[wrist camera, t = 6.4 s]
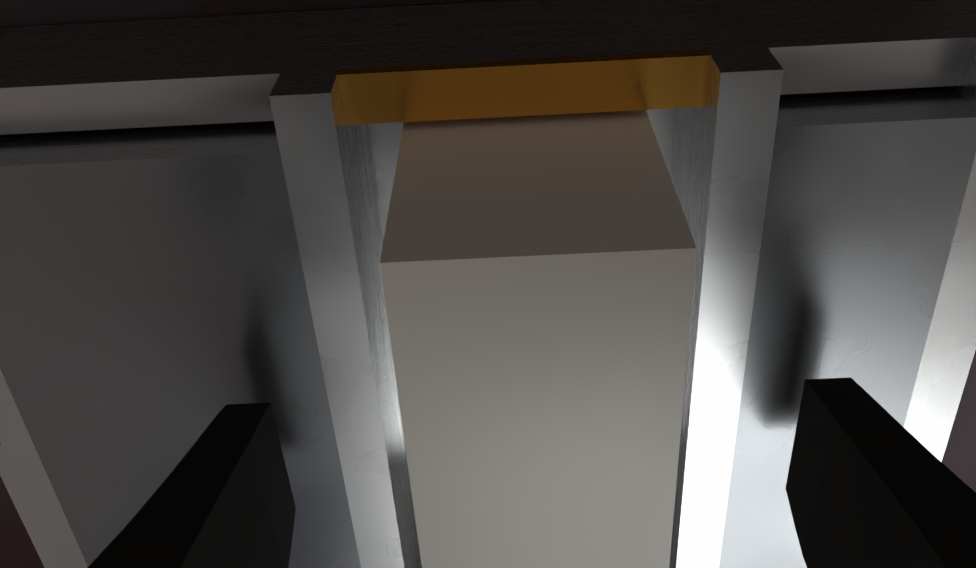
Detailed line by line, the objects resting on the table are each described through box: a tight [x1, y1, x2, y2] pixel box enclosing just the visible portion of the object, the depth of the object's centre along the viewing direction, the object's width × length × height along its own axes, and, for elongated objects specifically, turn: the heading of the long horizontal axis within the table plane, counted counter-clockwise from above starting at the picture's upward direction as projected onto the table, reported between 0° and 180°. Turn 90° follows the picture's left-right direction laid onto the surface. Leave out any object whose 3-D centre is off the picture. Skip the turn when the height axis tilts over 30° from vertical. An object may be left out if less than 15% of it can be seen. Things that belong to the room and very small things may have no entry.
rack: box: [0, 0, 976, 568], centre depth 15 cm, size 10×14×3 cm
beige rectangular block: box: [380, 110, 696, 568], centre depth 13 cm, size 7×3×5 cm, turn 3°
